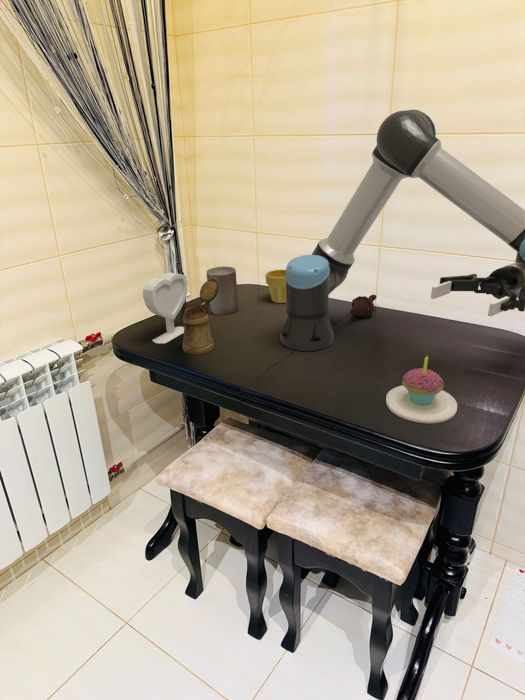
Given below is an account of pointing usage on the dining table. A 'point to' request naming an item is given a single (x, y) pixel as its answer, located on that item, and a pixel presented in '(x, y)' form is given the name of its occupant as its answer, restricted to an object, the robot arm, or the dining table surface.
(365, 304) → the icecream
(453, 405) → the saucer
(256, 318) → the dining table surface
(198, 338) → the wooden mug
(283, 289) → the plant pot
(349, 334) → the dining table surface
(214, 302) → the pillar candle
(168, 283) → the heart sculpture
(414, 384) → the cupcake
